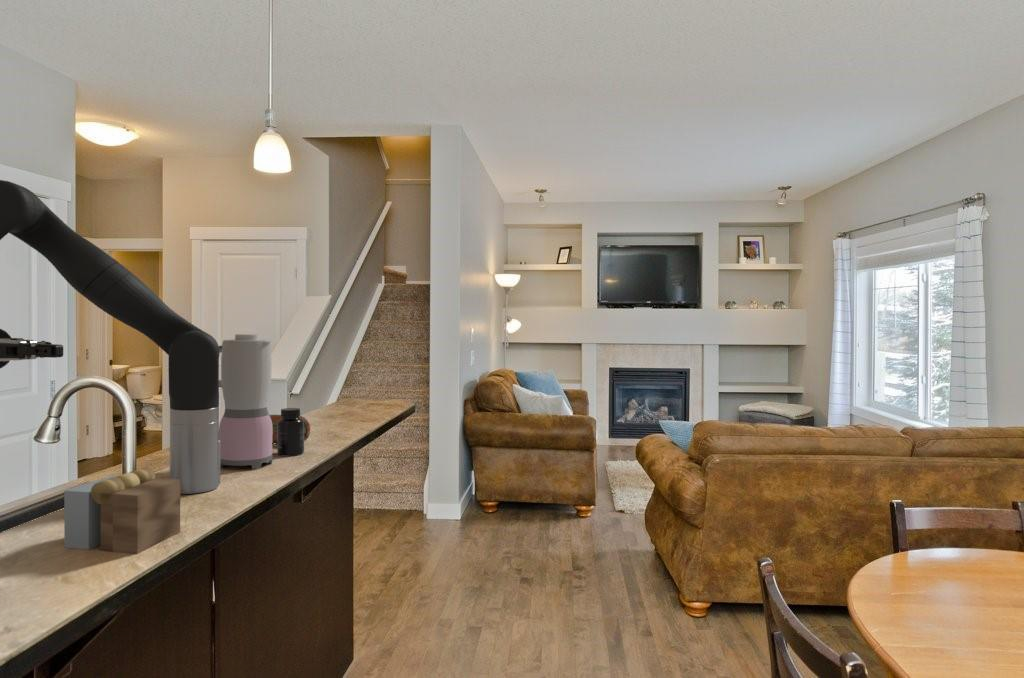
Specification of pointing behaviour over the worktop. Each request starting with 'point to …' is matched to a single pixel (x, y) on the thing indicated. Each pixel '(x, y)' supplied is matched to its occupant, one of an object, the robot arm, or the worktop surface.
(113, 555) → the worktop surface
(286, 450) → the supplement bottle
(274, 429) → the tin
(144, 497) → the fixed leaf
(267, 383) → the blender
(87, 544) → the grey block
